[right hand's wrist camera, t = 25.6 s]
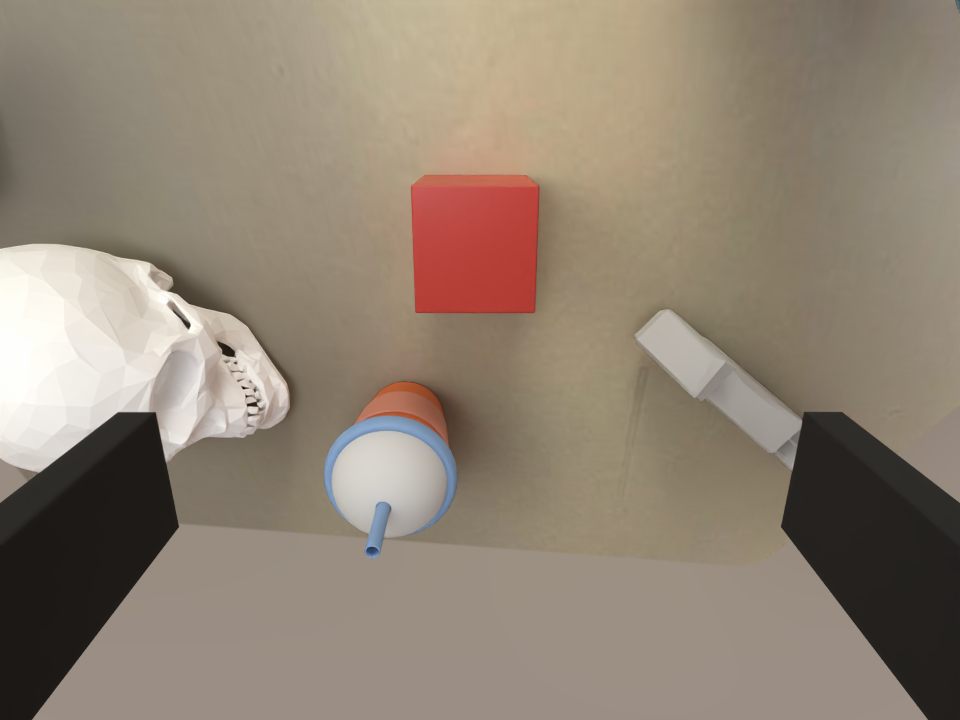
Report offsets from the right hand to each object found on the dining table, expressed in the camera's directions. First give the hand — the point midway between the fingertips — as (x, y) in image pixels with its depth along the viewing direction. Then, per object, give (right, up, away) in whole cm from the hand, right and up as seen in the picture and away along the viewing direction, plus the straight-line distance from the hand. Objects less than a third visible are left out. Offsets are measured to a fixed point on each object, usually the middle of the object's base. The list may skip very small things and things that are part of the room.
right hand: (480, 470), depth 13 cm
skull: (-25, +4, +37) cm, 44 cm away
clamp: (+21, 0, +38) cm, 44 cm away
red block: (0, +12, +34) cm, 36 cm away
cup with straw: (-6, -2, +39) cm, 40 cm away
